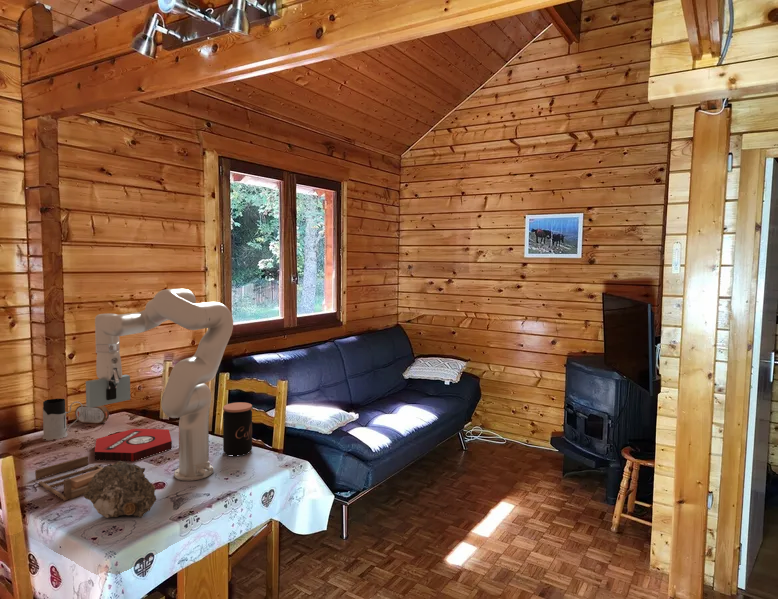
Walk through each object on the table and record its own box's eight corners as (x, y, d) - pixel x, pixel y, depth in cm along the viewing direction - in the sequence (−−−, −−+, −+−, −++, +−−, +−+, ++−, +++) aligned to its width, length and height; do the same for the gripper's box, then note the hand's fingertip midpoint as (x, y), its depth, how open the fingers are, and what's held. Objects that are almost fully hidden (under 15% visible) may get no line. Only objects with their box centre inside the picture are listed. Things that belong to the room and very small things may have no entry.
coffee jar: (236, 459, 187) (236, 411, 186) (217, 453, 193) (217, 406, 192) (258, 450, 196) (258, 405, 195) (238, 445, 202) (238, 400, 201)
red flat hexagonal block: (74, 460, 185) (155, 463, 183) (74, 451, 184) (154, 453, 183) (116, 436, 211) (186, 438, 210) (115, 428, 211) (186, 429, 210)
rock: (99, 465, 138) (133, 437, 152) (72, 497, 141) (107, 467, 156) (152, 508, 139) (180, 476, 153) (123, 539, 143) (153, 505, 157)
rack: (124, 481, 167) (124, 463, 167) (64, 500, 152) (63, 481, 152) (90, 463, 181) (89, 446, 181) (32, 479, 167) (31, 462, 166)
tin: (109, 422, 227) (109, 404, 227) (104, 425, 224) (104, 406, 224) (79, 421, 229) (78, 402, 229) (74, 423, 226) (73, 404, 226)
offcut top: (108, 477, 166) (108, 471, 166) (76, 489, 157) (76, 482, 157) (100, 474, 168) (100, 468, 168) (69, 485, 159) (68, 479, 159)
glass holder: (43, 435, 210) (42, 399, 209) (83, 430, 217) (82, 395, 216) (40, 441, 202) (39, 404, 201) (82, 436, 209) (81, 400, 208)
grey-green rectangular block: (130, 399, 187) (129, 375, 187) (90, 407, 176) (89, 382, 176) (126, 398, 189) (125, 374, 189) (86, 406, 178) (85, 381, 177)
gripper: (129, 349, 180) (130, 400, 181) (107, 344, 189) (108, 393, 190) (108, 351, 174) (109, 404, 175) (86, 347, 183) (87, 397, 184)
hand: (108, 398), depth 183 cm, fingers closed on grey-green rectangular block, 3 cm apart
